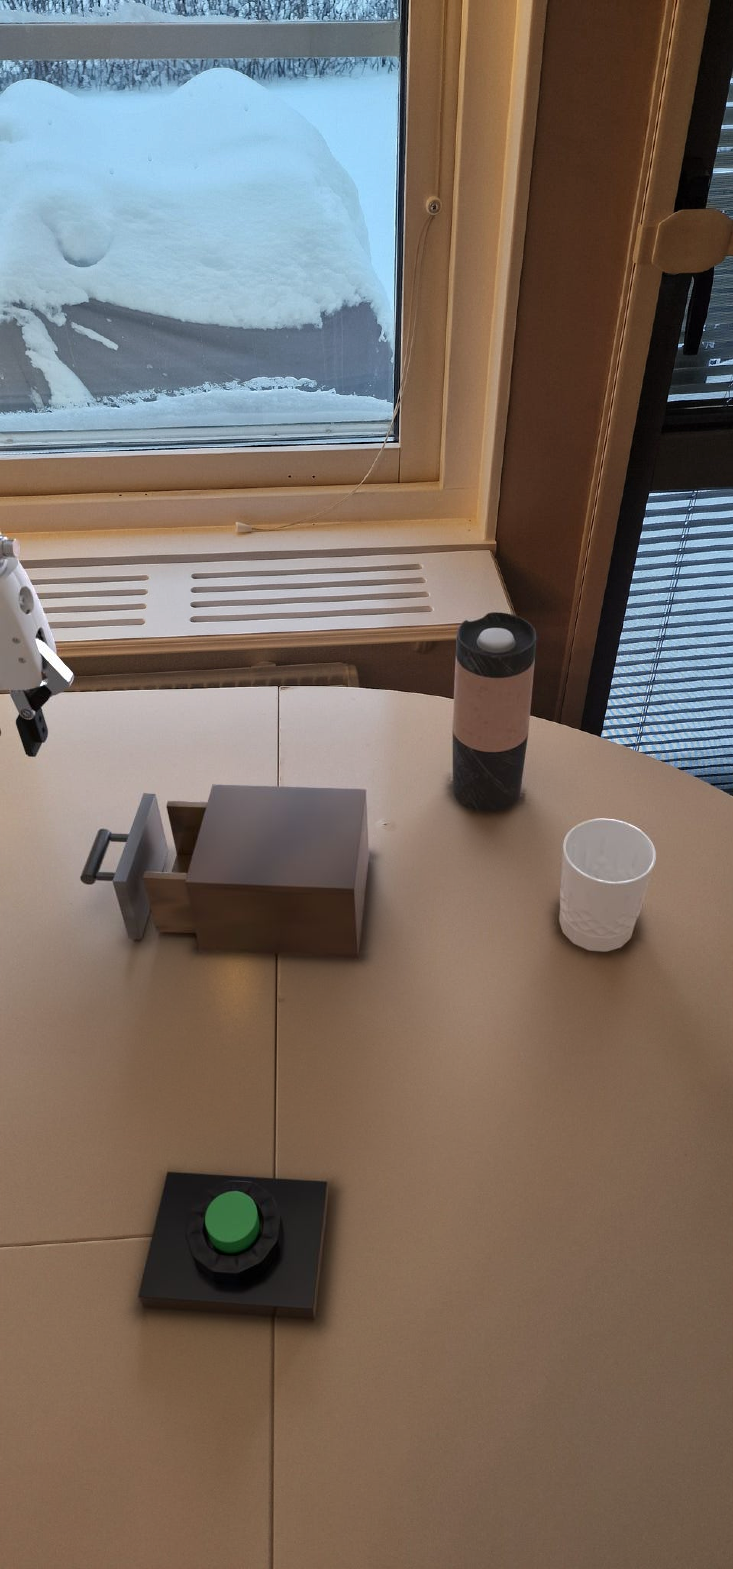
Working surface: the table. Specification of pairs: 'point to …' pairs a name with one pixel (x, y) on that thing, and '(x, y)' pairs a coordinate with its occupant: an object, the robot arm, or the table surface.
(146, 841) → the drawer
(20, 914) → the table surface
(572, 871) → the white cup
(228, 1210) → the button
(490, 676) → the travel mug
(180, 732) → the table surface
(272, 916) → the cabinet
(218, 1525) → the table surface
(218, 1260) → the control block
